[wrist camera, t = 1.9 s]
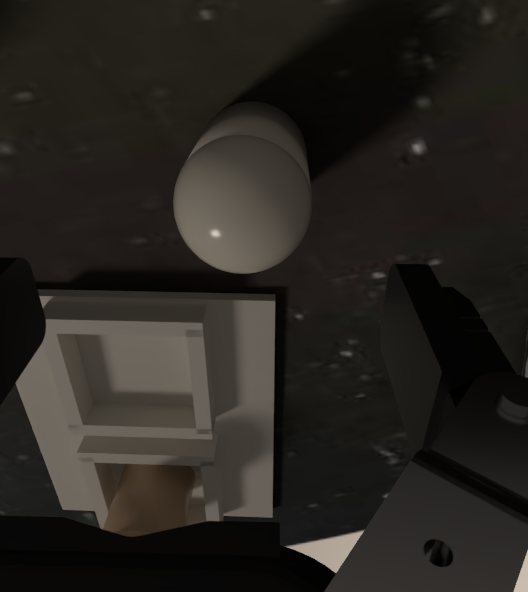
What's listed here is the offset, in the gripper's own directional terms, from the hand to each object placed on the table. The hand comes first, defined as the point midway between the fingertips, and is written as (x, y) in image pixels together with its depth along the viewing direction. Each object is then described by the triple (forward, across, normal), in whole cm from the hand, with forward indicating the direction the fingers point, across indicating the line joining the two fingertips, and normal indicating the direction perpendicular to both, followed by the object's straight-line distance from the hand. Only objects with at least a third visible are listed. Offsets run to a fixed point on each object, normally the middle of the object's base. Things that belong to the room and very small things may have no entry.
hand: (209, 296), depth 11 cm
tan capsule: (+10, +5, +20) cm, 23 cm away
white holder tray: (+11, +5, +15) cm, 19 cm away
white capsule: (+10, 0, 0) cm, 10 cm away
